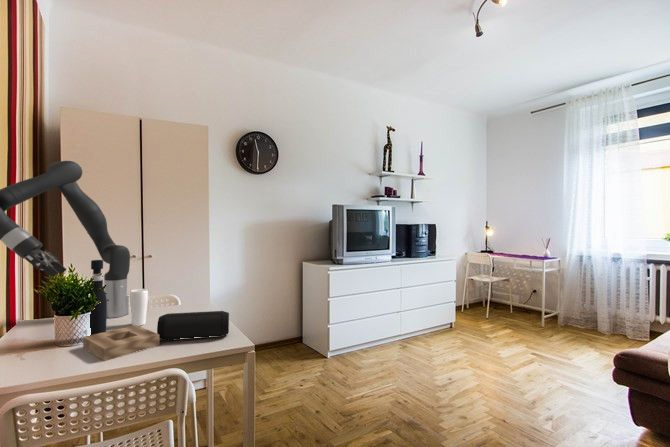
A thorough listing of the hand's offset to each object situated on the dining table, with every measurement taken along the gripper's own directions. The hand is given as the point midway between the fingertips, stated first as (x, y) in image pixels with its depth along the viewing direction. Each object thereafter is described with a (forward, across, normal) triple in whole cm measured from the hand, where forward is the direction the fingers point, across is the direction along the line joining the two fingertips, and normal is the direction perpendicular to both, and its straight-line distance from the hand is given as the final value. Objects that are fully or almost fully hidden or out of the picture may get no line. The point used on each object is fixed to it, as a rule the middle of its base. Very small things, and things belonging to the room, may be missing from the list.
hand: (60, 273), depth 131 cm
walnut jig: (+34, -13, +2) cm, 36 cm away
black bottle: (+26, 0, +10) cm, 28 cm away
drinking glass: (+35, +14, +1) cm, 38 cm away
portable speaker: (+52, -10, -15) cm, 55 cm away
